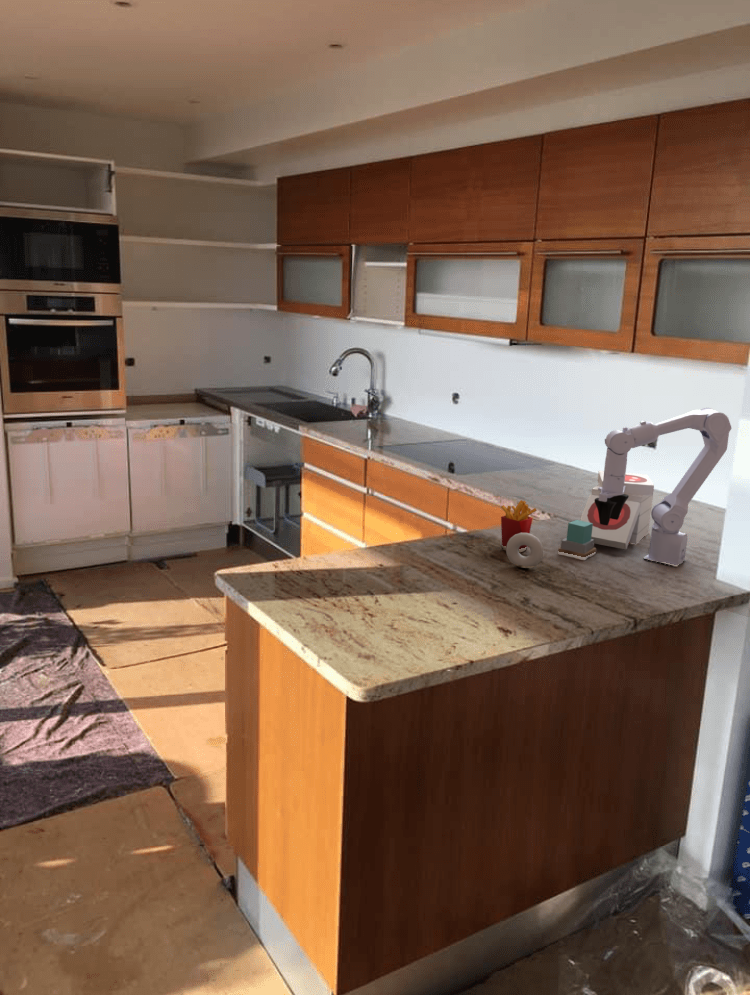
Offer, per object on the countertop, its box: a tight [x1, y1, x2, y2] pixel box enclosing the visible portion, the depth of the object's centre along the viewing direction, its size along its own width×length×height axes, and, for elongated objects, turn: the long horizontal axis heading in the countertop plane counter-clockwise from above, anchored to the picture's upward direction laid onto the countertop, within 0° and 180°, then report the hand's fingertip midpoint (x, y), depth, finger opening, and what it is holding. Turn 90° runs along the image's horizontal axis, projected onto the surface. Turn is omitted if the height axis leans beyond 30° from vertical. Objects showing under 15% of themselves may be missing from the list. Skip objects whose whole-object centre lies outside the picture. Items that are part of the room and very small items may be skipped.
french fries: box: [500, 499, 537, 549], centre depth 237 cm, size 9×8×15 cm
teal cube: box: [566, 519, 593, 544], centre depth 236 cm, size 5×5×5 cm
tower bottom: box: [557, 546, 597, 557], centre depth 238 cm, size 8×8×2 cm
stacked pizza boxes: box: [579, 470, 655, 550], centre depth 252 cm, size 19×30×18 cm, turn 149°
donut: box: [505, 533, 544, 567], centre depth 223 cm, size 10×4×10 cm, turn 68°
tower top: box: [560, 536, 595, 554], centre depth 237 cm, size 7×7×2 cm
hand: (609, 521), depth 234 cm, fingers open, 7 cm apart
